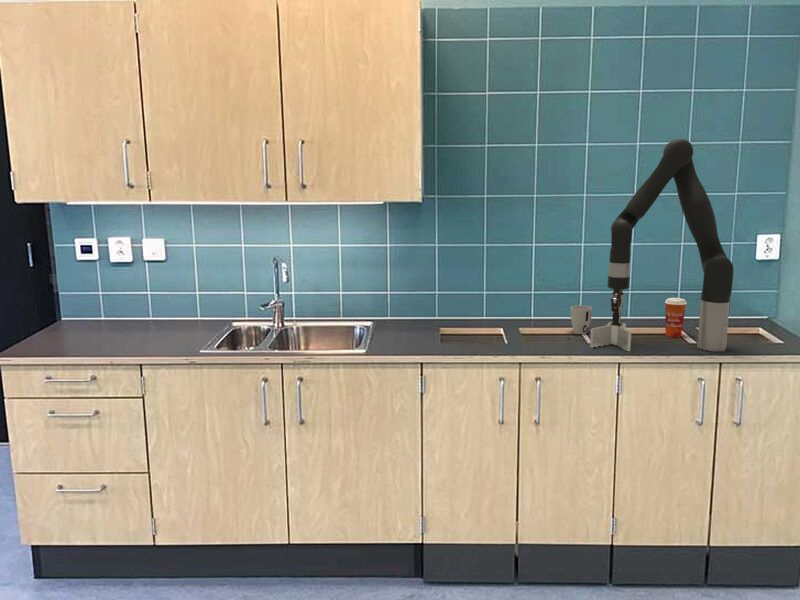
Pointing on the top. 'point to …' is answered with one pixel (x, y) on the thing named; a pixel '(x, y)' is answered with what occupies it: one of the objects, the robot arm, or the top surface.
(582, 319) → the cup
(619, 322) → the pin
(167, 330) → the top surface
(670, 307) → the paper cup
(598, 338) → the grey finned stand
